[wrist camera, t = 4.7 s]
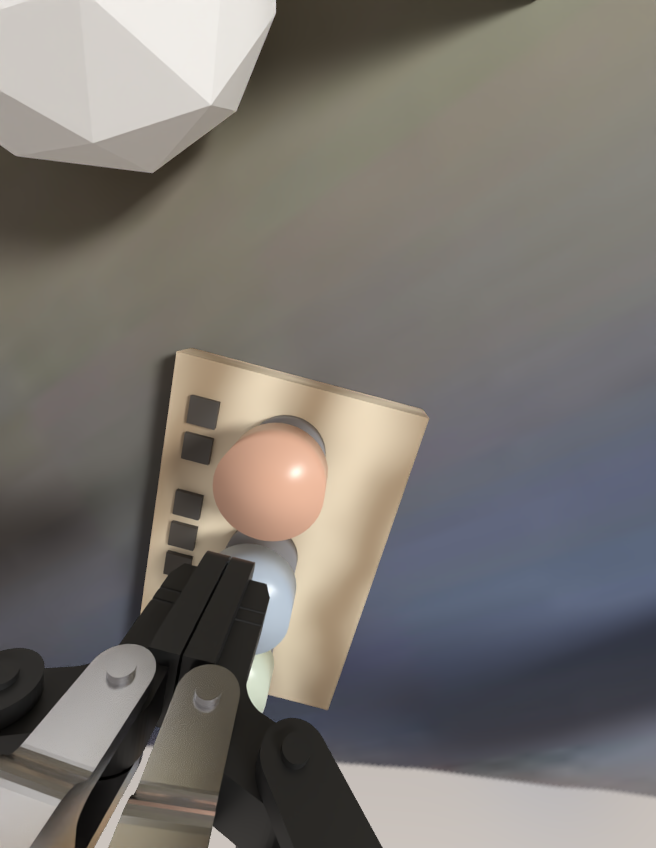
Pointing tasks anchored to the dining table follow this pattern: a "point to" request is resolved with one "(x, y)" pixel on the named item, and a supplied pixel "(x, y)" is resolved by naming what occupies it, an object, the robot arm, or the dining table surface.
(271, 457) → the two dot button
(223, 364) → the button board
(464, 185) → the dining table surface
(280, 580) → the three dot button
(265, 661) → the pale green button
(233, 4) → the geometric shape
